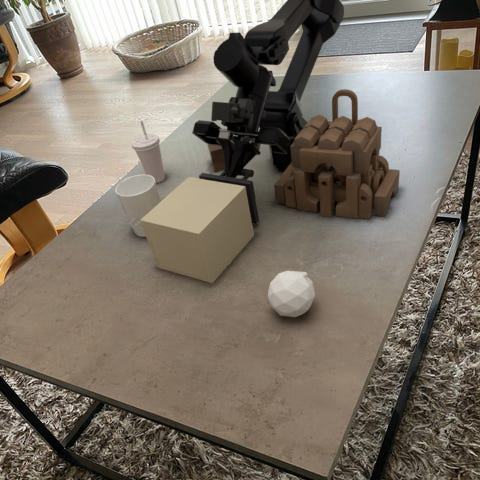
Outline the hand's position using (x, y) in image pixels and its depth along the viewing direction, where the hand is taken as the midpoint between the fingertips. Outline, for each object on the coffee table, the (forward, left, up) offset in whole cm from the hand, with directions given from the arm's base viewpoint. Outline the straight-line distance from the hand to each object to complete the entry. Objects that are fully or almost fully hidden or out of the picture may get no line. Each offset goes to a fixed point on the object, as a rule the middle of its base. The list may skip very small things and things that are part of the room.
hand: (228, 181), depth 92 cm
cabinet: (+7, +8, -8) cm, 14 cm away
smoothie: (+14, -25, -8) cm, 30 cm away
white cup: (+17, -5, -8) cm, 20 cm away
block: (-2, -24, -8) cm, 25 cm away
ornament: (-4, +29, -9) cm, 31 cm away
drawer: (+3, +4, -7) cm, 9 cm away
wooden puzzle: (-21, +1, -8) cm, 22 cm away
